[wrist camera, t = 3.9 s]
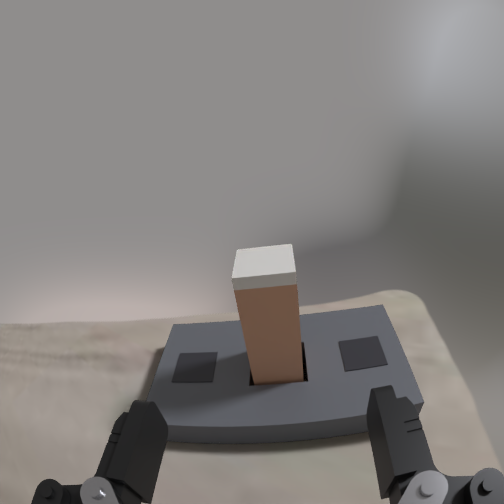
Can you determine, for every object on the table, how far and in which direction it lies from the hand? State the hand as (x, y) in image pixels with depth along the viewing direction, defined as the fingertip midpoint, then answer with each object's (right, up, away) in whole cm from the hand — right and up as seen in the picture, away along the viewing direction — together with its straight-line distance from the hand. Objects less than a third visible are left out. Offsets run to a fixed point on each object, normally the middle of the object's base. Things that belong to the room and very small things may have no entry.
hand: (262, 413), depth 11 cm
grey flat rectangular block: (+3, -7, +19) cm, 21 cm away
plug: (+3, -7, +20) cm, 21 cm away
